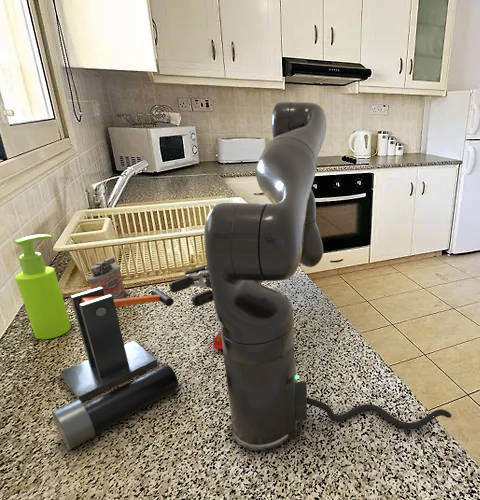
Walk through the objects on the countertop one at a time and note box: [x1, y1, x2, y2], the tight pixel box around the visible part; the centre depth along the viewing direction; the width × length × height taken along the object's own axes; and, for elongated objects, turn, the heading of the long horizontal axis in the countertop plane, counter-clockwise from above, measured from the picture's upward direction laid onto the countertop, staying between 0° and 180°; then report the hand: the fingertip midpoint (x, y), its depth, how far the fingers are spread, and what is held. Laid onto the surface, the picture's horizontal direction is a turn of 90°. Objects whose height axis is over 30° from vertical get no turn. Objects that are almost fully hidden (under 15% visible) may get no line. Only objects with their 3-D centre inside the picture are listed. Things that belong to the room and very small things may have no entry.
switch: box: [82, 288, 175, 308], centre depth 64 cm, size 13×6×2 cm, turn 141°
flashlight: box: [51, 363, 179, 451], centre depth 55 cm, size 15×6×6 cm, turn 141°
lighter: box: [86, 256, 127, 299], centre depth 86 cm, size 8×3×10 cm, turn 168°
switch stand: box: [59, 287, 158, 403], centre depth 62 cm, size 12×9×15 cm
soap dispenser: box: [13, 233, 72, 340], centre depth 73 cm, size 6×7×20 cm
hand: (181, 294), depth 72 cm, fingers open, 8 cm apart
